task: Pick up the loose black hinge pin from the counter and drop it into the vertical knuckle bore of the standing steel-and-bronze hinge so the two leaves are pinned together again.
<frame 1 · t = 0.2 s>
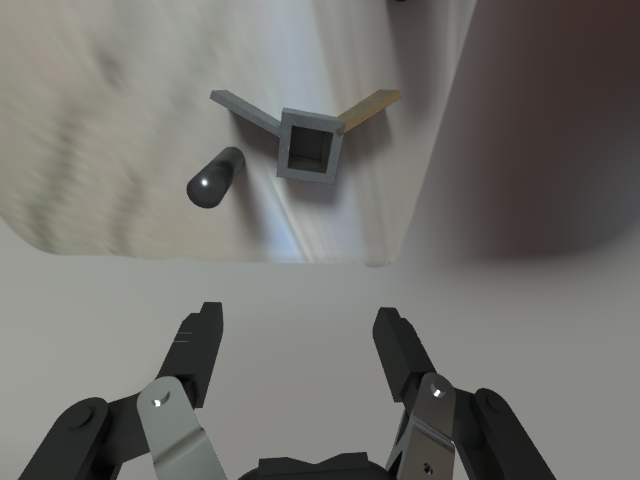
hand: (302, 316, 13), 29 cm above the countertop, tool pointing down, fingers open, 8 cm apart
hinge pin: (232, 158, 36), on the countertop
hinge: (306, 140, 36), on the countertop
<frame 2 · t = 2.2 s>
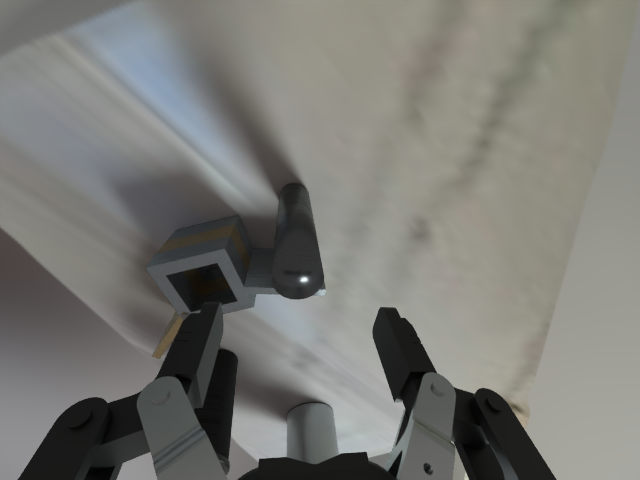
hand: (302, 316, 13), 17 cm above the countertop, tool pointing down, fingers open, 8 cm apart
drinking cup: (222, 358, 40), on the countertop
hinge pin: (294, 197, 28), on the countertop
hinge: (220, 249, 30), on the countertop
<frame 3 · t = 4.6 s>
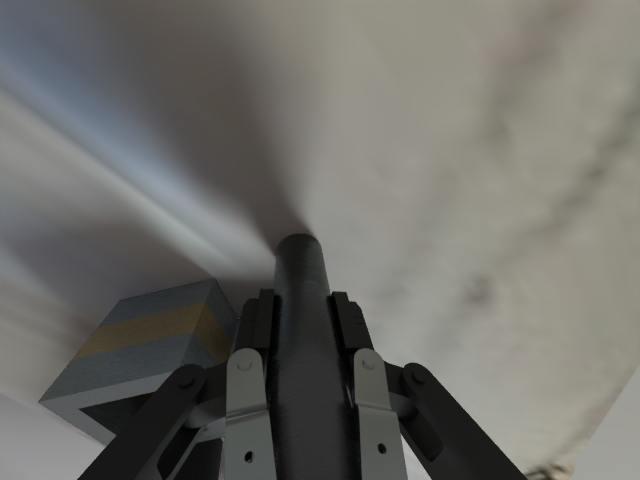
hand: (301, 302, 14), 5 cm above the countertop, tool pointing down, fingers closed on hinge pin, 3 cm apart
drinking cup: (201, 440, 30), on the countertop
hinge pin: (299, 253, 18), on the countertop, touching gripper
hinge: (190, 322, 20), on the countertop
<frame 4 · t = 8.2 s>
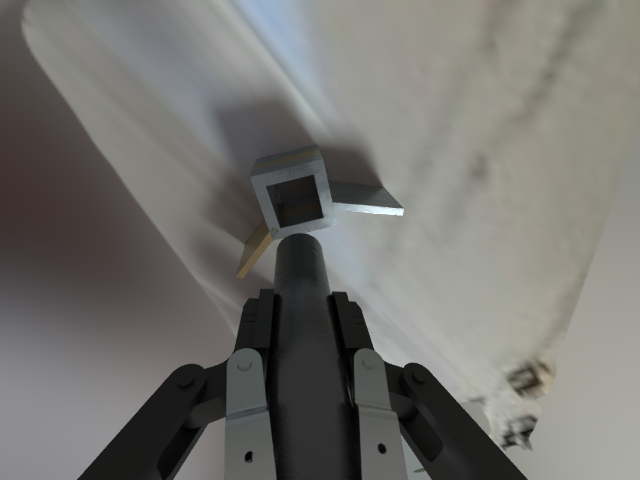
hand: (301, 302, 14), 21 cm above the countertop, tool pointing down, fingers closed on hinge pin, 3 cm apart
hinge pin: (299, 252, 18), point 16 cm above the countertop, touching gripper
hinge: (295, 181, 32), on the countertop
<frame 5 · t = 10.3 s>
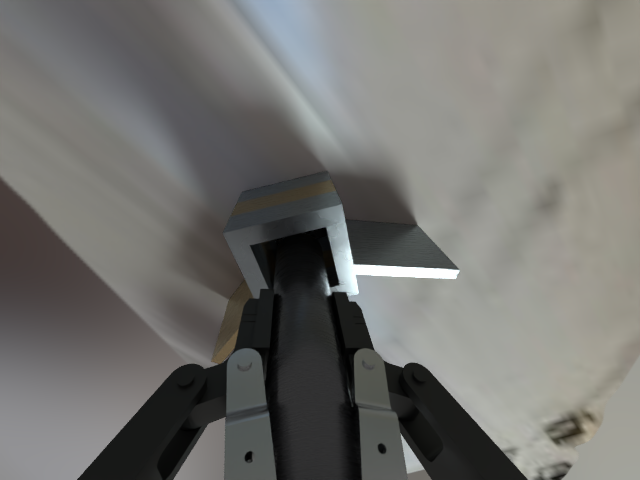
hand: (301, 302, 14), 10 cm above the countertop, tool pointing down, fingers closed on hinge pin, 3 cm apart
hinge pin: (299, 252, 18), point 5 cm above the countertop, touching gripper
hinge: (295, 219, 23), on the countertop
when the fingers open (8 cm above the countertop, at t = 11.9 s): hinge pin drops 3 cm, resting in hinge.
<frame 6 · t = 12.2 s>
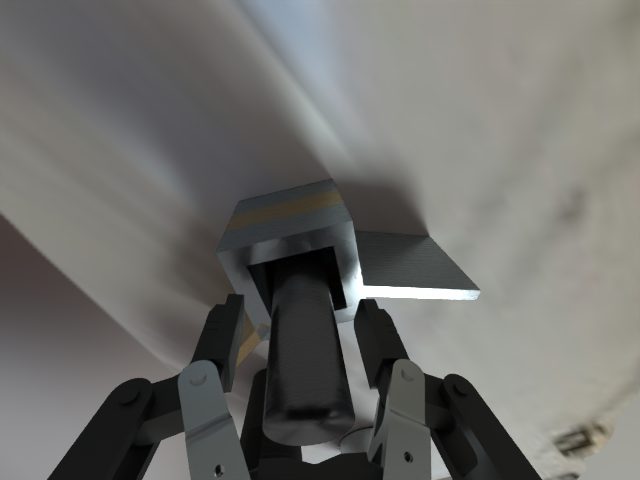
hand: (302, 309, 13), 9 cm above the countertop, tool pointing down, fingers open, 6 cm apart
drinking cup: (273, 377, 31), on the countertop
hinge pin: (298, 231, 21), resting in hinge
hinge: (297, 231, 21), on the countertop
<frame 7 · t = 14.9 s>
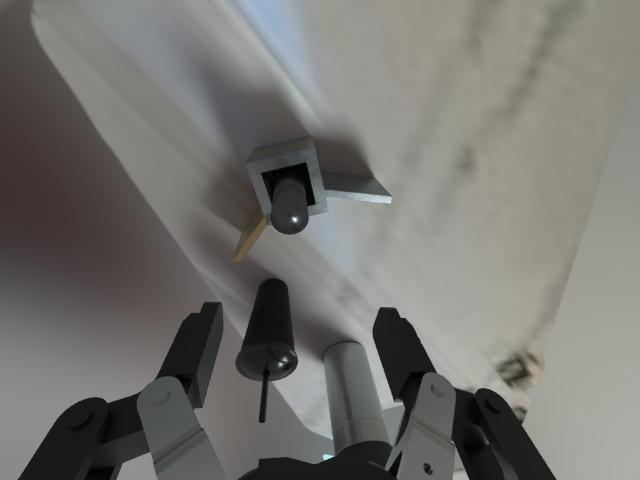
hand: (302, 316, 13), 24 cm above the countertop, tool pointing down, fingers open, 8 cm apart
drinking cup: (273, 289, 44), on the countertop
hinge pin: (290, 170, 33), resting in hinge
hinge: (289, 170, 33), on the countertop
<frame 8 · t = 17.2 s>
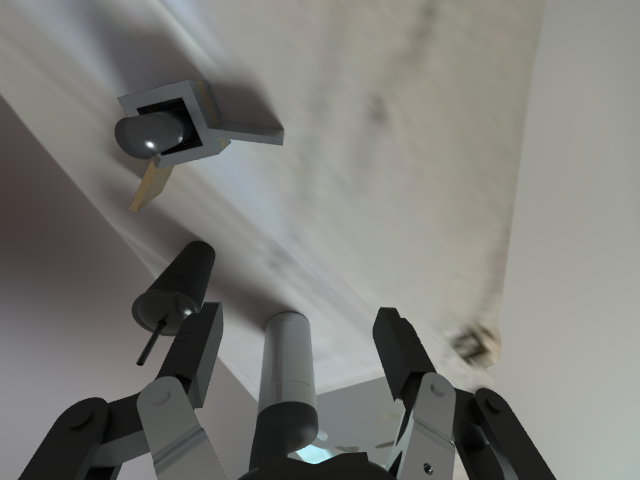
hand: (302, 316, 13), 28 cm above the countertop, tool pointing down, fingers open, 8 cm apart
drinking cup: (200, 252, 43), on the countertop
hinge pin: (193, 120, 33), resting in hinge
hinge: (193, 120, 33), on the countertop
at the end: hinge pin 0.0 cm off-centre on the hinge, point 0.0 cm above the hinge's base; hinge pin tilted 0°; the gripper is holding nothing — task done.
